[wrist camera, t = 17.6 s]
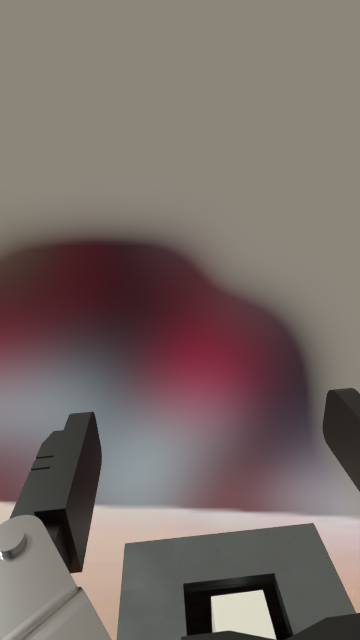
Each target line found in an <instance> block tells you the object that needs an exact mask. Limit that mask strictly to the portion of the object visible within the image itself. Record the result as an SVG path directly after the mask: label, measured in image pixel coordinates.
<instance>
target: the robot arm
mask: <svg viewBox="0 0 360 640" xmlns="http://www.w3.org/2000/svg"><path fill="white" fill-rule="evenodd" d="M323 434H324V438H325V441H326V443H327V445H328V446H329V448H330V449H331V451H332V452H333V454H334V455H335V456H336V458H337V459H338V461H339V462H340V464H341V465H342V467H343V468H344V470H345V471H346V472H347V474H348V475H349V477H350V478H351V480H352V481H353V483H354V484H355V486H356V487H357V488H358V490H359V491H360V394H359V393H358V392H357V391H356V390H355V389H353V388H347V389H335V390H329V391H328V393H327V397H326V405H325V412H324V419H323ZM101 463H102V452H101V445H100V439H99V434H98V428H97V424H96V418H95V414H94V412H85V413H74V414H70V415H69V417H68V420H67V422H66V425H65V428H64V430H62V431H54V432H53V433H52V434H51V435H50V436H49V437H48V438H47V439H46V440H45V441H44V442H43V443H42V445H41V447H40V449H39V452H38V454H37V457H36V460H35V461H34V463H33V466H32V468H31V472H30V473H29V475H28V477H27V480H26V482H25V484H24V487H23V489H22V491H21V493H20V496H19V498H18V500H17V503H16V505H15V507H14V510H13V512H12V514H11V517H10V519H9V520H7V521H5V522H3V523H2V524H1V525H0V640H111V638H110V636H109V634H108V632H107V631H106V629H105V627H104V625H103V623H102V622H101V620H100V618H99V616H98V614H97V612H96V611H95V609H94V607H93V605H92V603H91V602H90V600H89V598H88V596H87V595H86V593H85V592H84V590H83V589H82V588H81V587H79V588H78V587H77V585H76V583H75V582H74V580H73V578H72V576H71V574H70V573H77V572H82V569H83V563H84V558H85V552H86V547H87V541H88V536H89V530H90V525H91V520H92V514H93V509H94V503H95V497H96V492H97V487H98V481H99V476H100V470H101ZM181 640H276V639H271V638H265V637H260V636H255V635H250V634H245V633H240V632H235V631H230V630H228V631H221V632H213V633H206V634H198V635H191V636H183V637H181ZM285 640H360V613H356V614H349V615H341V616H334V617H326V618H324V619H323V620H321V621H319V622H317V623H315V624H313V625H312V626H310V627H308V628H306V629H304V630H302V631H300V632H299V633H297V634H295V635H293V636H291V637H289V638H287V639H285Z"/></svg>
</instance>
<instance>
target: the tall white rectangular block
mask: <svg viewBox="0 0 360 640" xmlns="http://www.w3.org/2000/svg"><path fill="white" fill-rule="evenodd" d="M211 607H212V633H213V632H221V631H228V630H230V631H235V632H240V633H245V634H250V635H255V636H260V637H265V638H271V639H276V636H275V633H274V629H273V625H272V622H271V618H270V614H269V611H268V607H267V604H266V600H265V596H264V593H263V590H258V591H250V592H242V593H235V594H227V595H219V596H211Z"/></svg>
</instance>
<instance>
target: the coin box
mask: <svg viewBox="0 0 360 640" xmlns="http://www.w3.org/2000/svg"><path fill="white" fill-rule="evenodd" d="M258 590H263V593H264V596H265V600H266V604H267V607H268V611H269V614H270V618H271V622H272V625H273V629H274V633H275V635H279V634H287V633H289V636H290V637H291V636H293V635H295V634H297V633H299V632H300V631H302V630H304V629H306V628H308V627H310V626H312V625H313V624H315V623H317V622H319V621H321V620H323V619H324V618H326V617H334V616H341V615H349V614H356V612H355V610H354V607H353V605H352V603H351V601H350V599H349V597H348V595H347V593H346V591H345V588H344V586H343V584H342V582H341V580H340V578H339V576H338V574H337V572H336V569H335V567H334V565H333V563H332V561H331V559H330V557H329V555H328V553H327V550H326V548H325V546H324V544H323V542H322V540H321V538H320V536H319V534H318V531H317V529H316V527H315V525H314V523H310V524H300V525H291V526H282V527H273V528H264V529H255V530H245V531H236V532H227V533H218V534H209V535H200V536H190V537H181V538H172V539H163V540H154V541H144V542H135V543H126V544H125V549H124V561H123V572H122V584H121V596H120V608H119V619H118V631H117V640H181V637H183V636H191V635H198V634H206V633H212V607H211V596H219V595H227V594H235V593H242V592H250V591H258Z"/></svg>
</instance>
